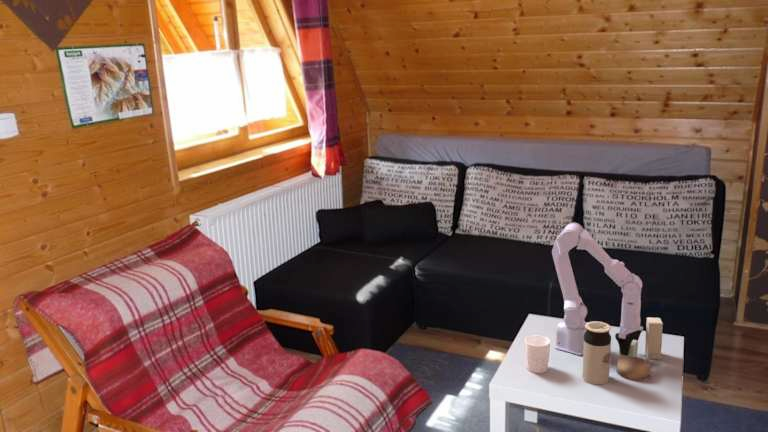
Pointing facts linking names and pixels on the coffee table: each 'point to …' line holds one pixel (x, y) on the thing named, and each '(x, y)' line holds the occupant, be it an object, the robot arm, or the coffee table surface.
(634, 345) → the block
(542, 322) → the coffee table surface
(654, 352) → the box
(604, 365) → the travel mug
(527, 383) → the coffee table surface
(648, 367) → the coaster stand
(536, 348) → the white cup
